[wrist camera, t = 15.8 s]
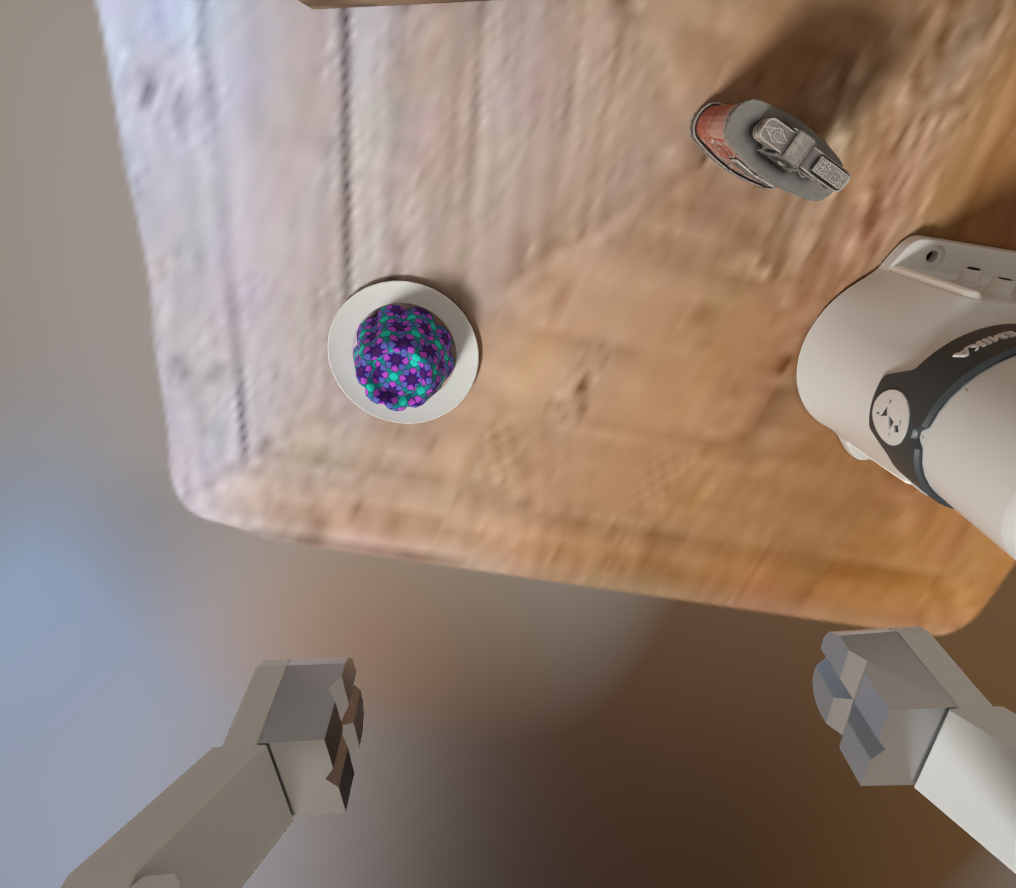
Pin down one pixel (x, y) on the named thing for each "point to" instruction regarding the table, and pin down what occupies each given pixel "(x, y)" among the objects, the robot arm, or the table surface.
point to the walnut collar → (369, 3)
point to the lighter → (768, 148)
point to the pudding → (402, 352)
